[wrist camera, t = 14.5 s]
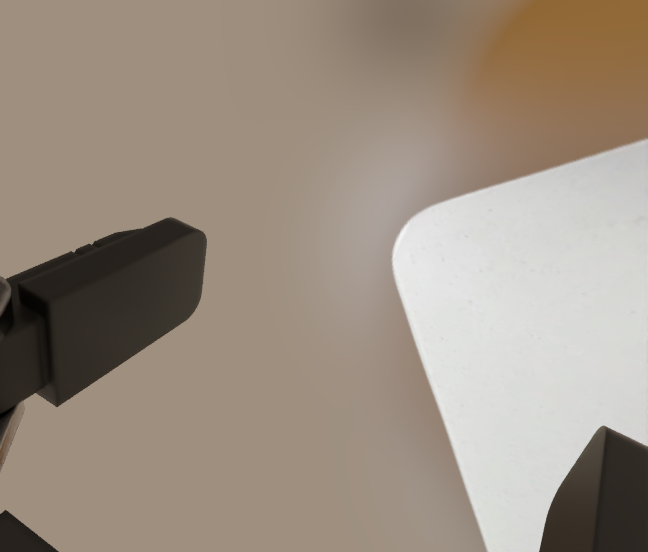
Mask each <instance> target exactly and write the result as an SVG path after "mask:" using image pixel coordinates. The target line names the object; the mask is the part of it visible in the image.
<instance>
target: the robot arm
mask: <svg viewBox="0 0 648 552" xmlns="http://www.w3.org/2000/svg"><path fill="white" fill-rule="evenodd" d="M206 246H207V240H206V236H205V234H204V233H203V232H202V231H200V230H198V229H196V228H194V227H192V226H190V225H188V224H185V223H183V222H181V221H179V220H177V219H175V218H166V219H164V220H161V221H159V222H157V223H154V224H152V225H150V226H147V227H145V228H143V229H136V230H129V231H123V232H117V233H114V234H111V235H109V236H107V237H104V238H102V239H99V240H97V241H95V242H94V243H93V245H91V244H88V245H85V246H83V247H80V248H78V249H76V251H75V252H74V253H73V252H72V251H71V252H69V253H66V254H64V255H62V256H59V257H57V258H54V259H52V260H50V261H47V262H45V263H43V264H40V265H38V266H35V267H33V268H31V269H28V270H26V271H24V272H21V273H19V274H17V275H14V276H12V277H9V278H7V279H4V278H3V277H0V471H1V469H2V466H3V464H4V461H5V459H6V456H7V454H8V451H9V448H10V446H11V444H12V441H13V439H14V436H15V433H16V431H17V429H18V426H19V423H20V421H21V418H22V416H23V413H24V400H25V399H26V398H28V397H29V396H31V395H33V394H34V393H37V394H38V395H40V396H41V397H43V398H44V399H46V400H47V401H49V402H50V403H52V404H53V405H55V406H56V407H58V406H59V405H61V404H62V403H64V402H65V401H67V400H68V399H70V398H71V397H73V396H74V395H76V394H77V393H79V392H80V391H82V390H83V389H85V388H86V387H88V386H89V385H90V384H92V383H94V382H95V381H97V380H98V379H99V378H101V377H103V376H104V375H106V374H107V373H109V372H110V371H111V370H113V369H114V368H116V367H117V366H119V365H120V364H122V363H123V362H125V361H126V360H128V359H129V358H131V357H132V356H134V355H135V354H137V353H138V352H140V351H141V350H143V349H144V348H146V347H147V346H148V345H150V344H152V343H153V342H154V341H156V340H157V339H159V338H160V337H162V336H163V335H165V334H167V333H168V332H170V331H171V330H172V329H174V328H175V327H177V326H178V325H180V324H181V323H183V322H184V321H186V320H187V319H188V318H189V317H190V316H191V315H192V314H193V312H194V311H195V309H196V308H197V306H198V304H199V301H200V298H201V294H202V285H203V275H204V274H203V273H204V265H205V256H206ZM0 552H58V551H57V550H56V549H55V548H53V547H52V546H51V545H50V544H48V543H47V542H45V541H44V540H43V539H42V538H41V537H39V536H38V535H37V534H35V533H34V532H33V531H32V530H30V529H29V528H28V527H27V526H25V525H24V524H23V523H21V522H20V521H19V520H18V519H17V518H15V517H14V516H13V515H12V514H10V513H9V512H8V511H6V510H5V511H4V512H3V513H1V514H0ZM539 552H648V447H647V446H645V445H643V444H641V443H639V442H637V441H635V440H633V439H631V438H629V437H627V436H625V435H622V434H620V433H618V432H616V431H614V430H612V429H610V428H608V427H606V426H602V427H600V428H599V429H598V430H597V431H596V433H595V434H594V436H593V437H592V439H591V440H590V442H589V443H588V445H587V446H586V448H585V449H584V451H583V452H582V454H581V455H580V457H579V458H578V460H577V461H576V463H575V464H574V466H573V467H572V469H571V470H570V472H569V473H568V475H567V476H566V478H565V479H564V481H563V482H562V484H561V485H560V487H559V489H558V491H557V492H556V494H555V497H554V499H553V501H552V503H551V506H550V509H549V511H548V515H547V518H546V522H545V527H544V532H543V536H542V541H541V546H540V551H539Z"/></svg>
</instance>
